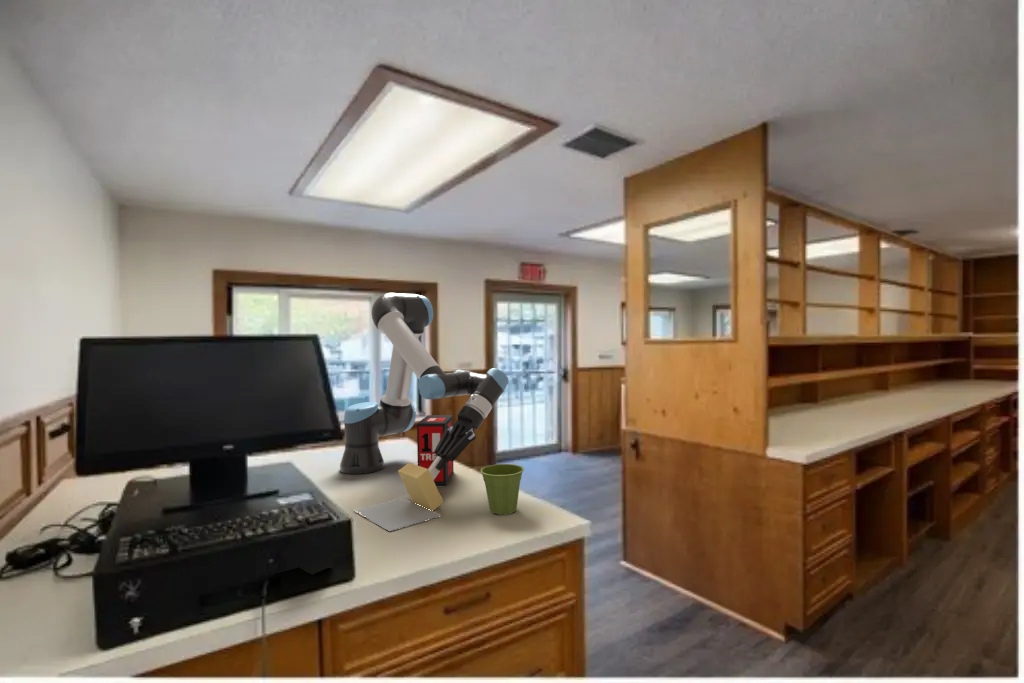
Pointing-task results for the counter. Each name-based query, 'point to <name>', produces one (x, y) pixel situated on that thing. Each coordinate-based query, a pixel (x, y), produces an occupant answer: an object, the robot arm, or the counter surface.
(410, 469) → the ochre box
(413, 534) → the counter surface
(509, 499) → the plant pot
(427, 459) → the cleaning product box
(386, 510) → the mat
